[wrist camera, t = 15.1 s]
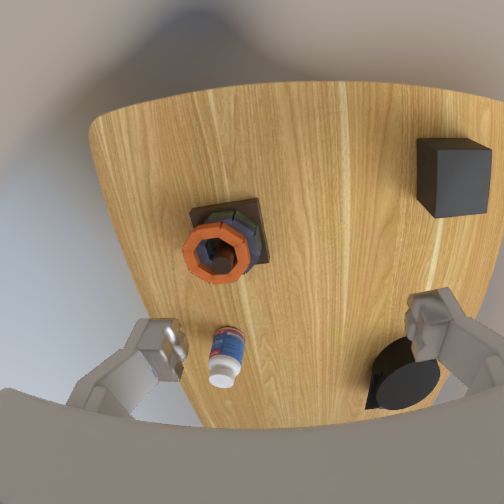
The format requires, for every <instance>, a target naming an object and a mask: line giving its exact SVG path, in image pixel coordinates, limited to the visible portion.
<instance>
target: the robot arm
mask: <svg viewBox="0 0 504 504" xmlns="http://www.w3.org/2000/svg"><path fill="white" fill-rule="evenodd" d="M407 304H408V307H409V309H408V311H407V312H406V313H405V320H404V321H405V331H406V335H407V338H408V339H409V340H410V341H412V346H411V350H412V352H413V355H414V358H415V361H416V362H422V361H427V360H432V359H437V358H438V359H437V360H438V361H440V362H441V363H442V364H443V365H444V366H445V367H446V368H447V369H448V370H449V371H451V372H452V373H453V374H454V375H455V376H456V377H457V378H458V379H459V380H461V382H462V383H464V384H465V385H466V386H467V387H468V388H469V389H468V391H467V393H466V395H465V396H464V397H463V398H460V399H457V400H453V401H450V402H446V403H443V404H439V405H436V406H431V407H427V408H423V409H419V410H415V411H410V412H406V413H401V414H396V415H391V416H386V417H380V418H375V419H369V420H362V421H355V422H348V423H340V424H331V425H321V426H310V427H295V428H272V429H228V428H206V427H191V426H179V425H169V424H161V423H152V422H146V421H139V420H135V419H134V418H133V417H132V416H131V415H130V413H131V412H132V411H133V410H134V409H135V408H136V407H137V406H138V405H139V404H140V403H141V402H142V400H143V399H144V398H145V397H146V396H147V395H148V394H149V393H150V392H151V391H152V390H153V389H154V388H155V387H156V386H157V385H158V383H159V381H170V382H171V381H172V382H180V379H181V375H182V372H183V369H184V367H183V365H182V362H183V361H184V360H185V359H186V358H187V356H188V349H189V344H188V340H187V337H186V335H185V334H184V333H183V332H181V331H180V327H181V324H180V322H179V321H178V319H176V318H151V319H142V318H141V319H139V320H138V321H137V323H136V325H135V327H134V329H133V330H132V332H131V334H130V337H129V338H128V341H127V342H126V344H125V346H124V349H119V350H118V351H117V352H115V353H114V354H113V355H111V356H110V357H109V358H108V359H106V360H105V361H104V362H102V363H101V364H100V365H99V366H97V367H96V368H94V369H93V370H92V371H91V372H89V373H88V374H87V375H85V376H84V377H83V378H81V379H80V380H79V381H78V382H77V383H76V385H75V387H74V389H73V391H72V393H71V395H70V397H69V399H68V401H67V403H66V405H62V404H58V403H55V402H52V401H48V400H45V399H42V398H38V397H35V396H32V395H29V394H26V393H23V392H20V391H17V390H15V389H12V388H4V389H2V390H1V391H0V504H504V337H503V336H501V335H499V334H498V333H496V332H495V331H493V330H491V329H489V328H488V327H486V326H485V325H483V324H481V323H480V322H478V321H476V320H475V319H473V318H471V317H466V315H465V313H464V312H463V310H462V308H461V306H460V305H459V303H458V301H457V300H456V298H455V296H454V295H453V293H452V291H451V290H450V288H448V287H445V288H440V289H435V290H431V291H425V292H420V293H414V294H410V295H409V297H408V301H407Z"/></svg>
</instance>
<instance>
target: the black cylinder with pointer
mask: <svg viewBox="0 0 504 504" xmlns="http://www.w3.org/2000/svg"><path fill="white" fill-rule="evenodd" d="M411 346H412V341H410V340H409V339H408V338H407V337H404V338H401V339H399V340H396V341H394V342H393V343H391V344H390V345H388V346H387V347H386V348H385V349H384V350H383V351H382V352H381V353H380V354H379V355H378V357H377V358H376V360H375V362H374V364H373V368H372V376H371V382H370V387H369V392H368V397H367V402H366V407H365V410H367V409H375V408H380V409H388V410H399V409H404V408H407V407H410V406H412V405H414V404H416V403H418V402H420V401H421V400H423V399H424V398H425V397H426V396H428V395H429V394H430V393H431V391H432V390H433V389H434V388H435V386H436V385H437V383H438V381H439V378H440V369H439V366H438V363H437V360H436V359H432V360H427V361H422V362H416V361H415V358H414V355H413V352H412V350H411Z"/></svg>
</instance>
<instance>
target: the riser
mask: <svg viewBox="0 0 504 504" xmlns="http://www.w3.org/2000/svg"><path fill="white" fill-rule="evenodd" d="M491 164H492V150H491V149H489V148H487V147H485V146H483V145H481V144H479V143H477V142H475V141H472V140H470V139H468V138H427V139H417V200H418V201H419V202H420V203H421V204H422V205H423V206H424V207H425V208H426V210H427V211H428V212H429V213H430V214H431V215H432V216H433V217H434V218H445V217H454V216H464V215H474V214H483V213H487V206H488V198H489V189H490V178H491Z"/></svg>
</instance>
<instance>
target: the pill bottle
mask: <svg viewBox="0 0 504 504" xmlns="http://www.w3.org/2000/svg"><path fill="white" fill-rule="evenodd" d="M244 345H245V337H244V335H243V333H242V332H241V331H239V330H237V329H235V328H231V327H225V328H221V329H219V330H218V331H217V332H216V334H215V336H214V341H213V345H212V349H211V353H210V357H209V361H208V368H209V370H210V371H211V372H210V375H209V381H210V383H211V384H212V385H214V386H216V387H220V388H229V387H231V386H233V384H234V380H235V376H237V375H238V374H239V372H240V370H241V364H242V357H243V351H244Z"/></svg>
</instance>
